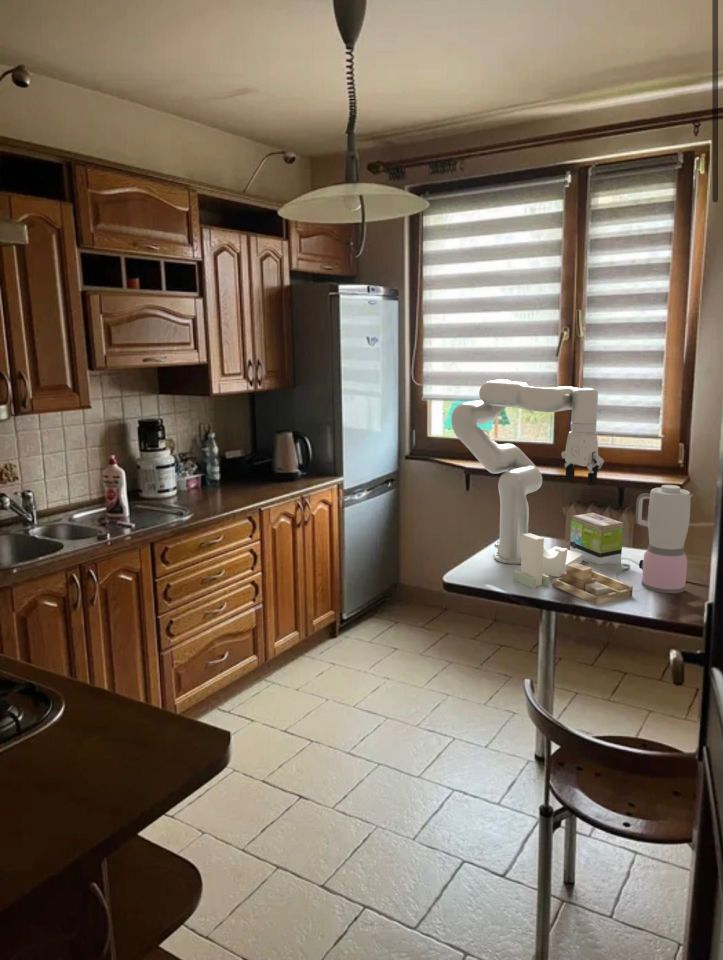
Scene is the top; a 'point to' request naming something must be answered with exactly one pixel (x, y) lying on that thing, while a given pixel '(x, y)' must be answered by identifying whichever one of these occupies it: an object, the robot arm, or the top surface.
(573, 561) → the white saddle block
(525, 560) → the tall board
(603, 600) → the tray
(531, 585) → the holder
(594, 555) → the tea box
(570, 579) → the offcut
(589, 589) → the offcut
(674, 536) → the blender
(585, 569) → the offcut
